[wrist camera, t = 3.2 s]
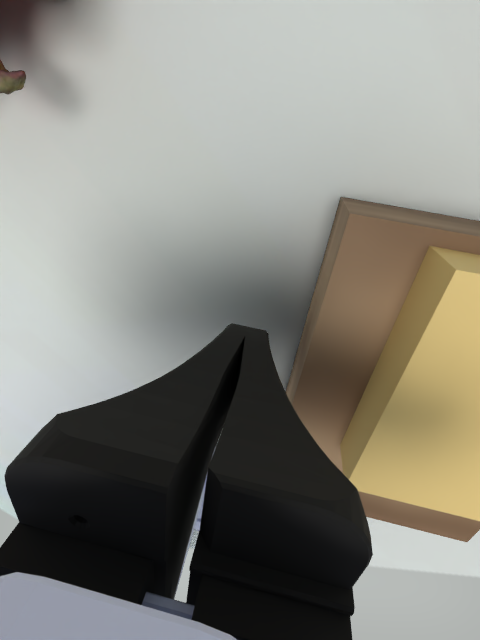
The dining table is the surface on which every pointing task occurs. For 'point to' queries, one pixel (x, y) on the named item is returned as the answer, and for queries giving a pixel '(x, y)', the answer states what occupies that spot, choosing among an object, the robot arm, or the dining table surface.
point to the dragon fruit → (11, 80)
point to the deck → (367, 330)
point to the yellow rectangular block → (425, 396)
